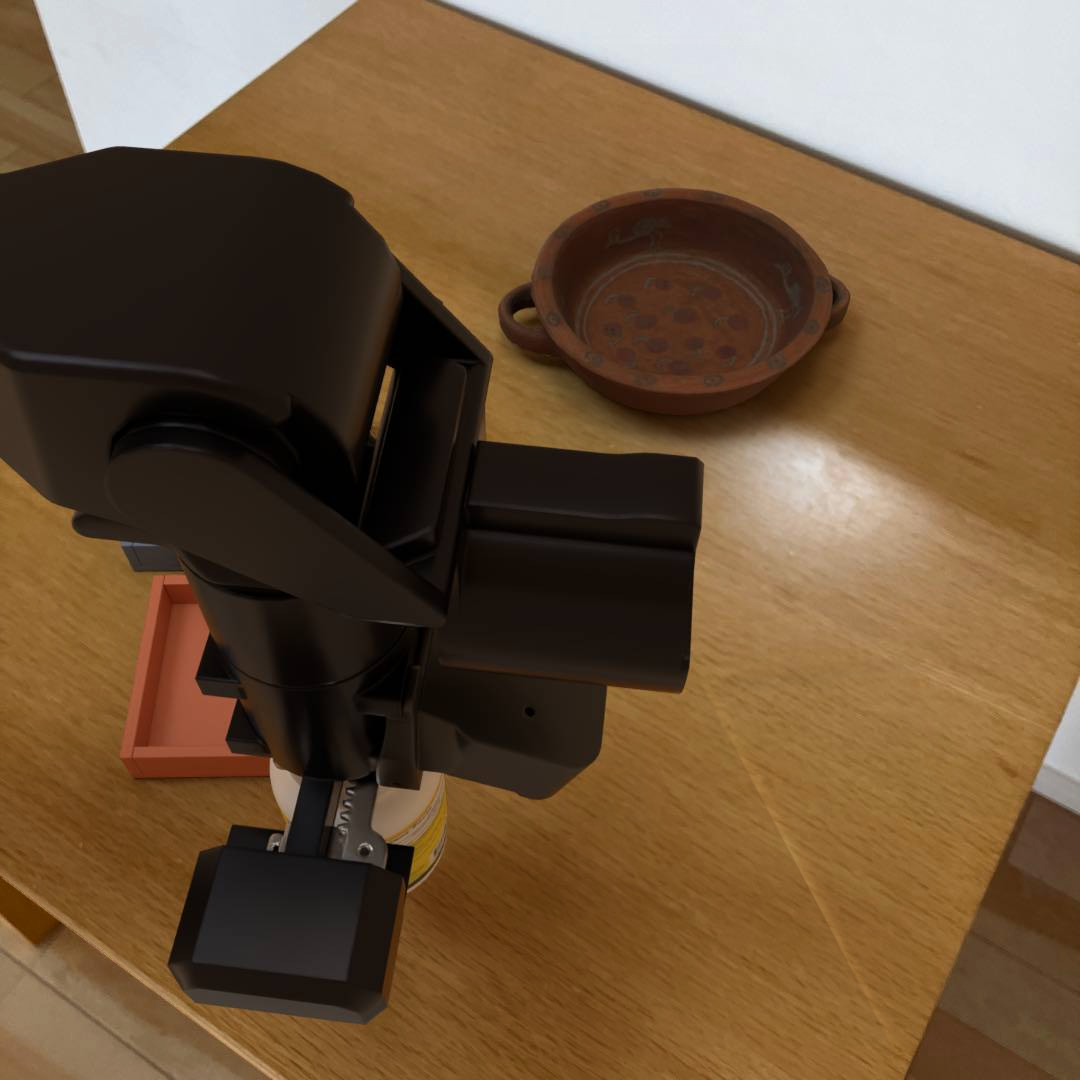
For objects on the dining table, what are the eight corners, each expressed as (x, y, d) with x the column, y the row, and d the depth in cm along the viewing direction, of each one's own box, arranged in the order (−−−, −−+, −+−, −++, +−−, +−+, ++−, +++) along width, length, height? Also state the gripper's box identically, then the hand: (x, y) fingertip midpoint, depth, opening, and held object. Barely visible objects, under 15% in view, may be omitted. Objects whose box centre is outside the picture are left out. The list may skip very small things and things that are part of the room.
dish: (878, 430, 70) (901, 375, 66) (514, 460, 68) (514, 405, 64) (807, 233, 80) (823, 173, 75) (486, 254, 78) (485, 194, 73)
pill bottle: (281, 793, 49) (233, 674, 40) (420, 744, 51) (405, 618, 41) (322, 932, 46) (280, 838, 37) (469, 876, 47) (464, 772, 38)
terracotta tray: (133, 778, 57) (118, 758, 55) (165, 599, 62) (153, 574, 60) (383, 774, 57) (378, 754, 55) (392, 596, 63) (388, 572, 61)
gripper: (565, 981, 27) (546, 1090, 40) (625, 375, 37) (595, 619, 50) (92, 922, 27) (227, 1048, 40) (282, 340, 37) (340, 590, 50)
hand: (368, 802), depth 45 cm, fingers closed on pill bottle, 6 cm apart
